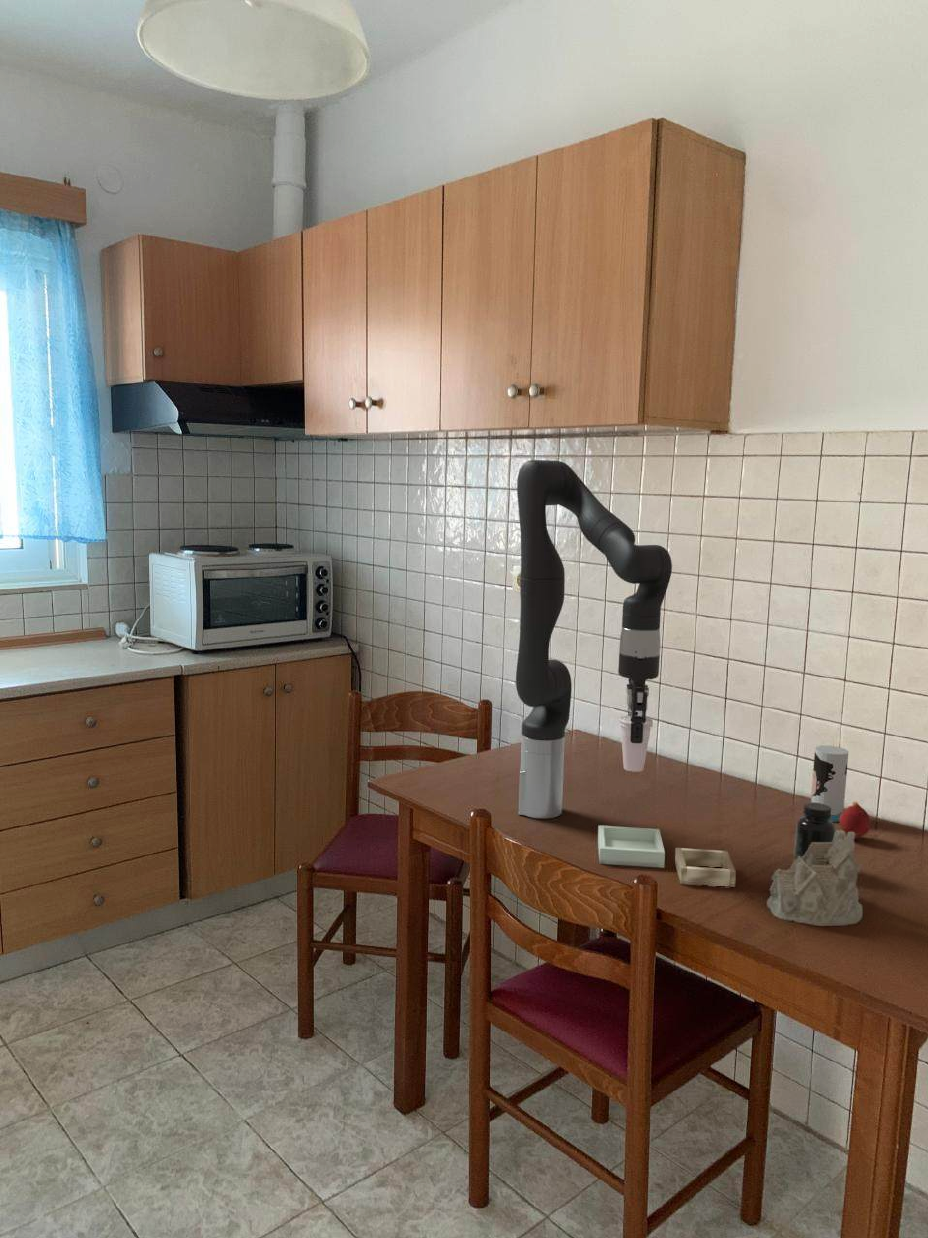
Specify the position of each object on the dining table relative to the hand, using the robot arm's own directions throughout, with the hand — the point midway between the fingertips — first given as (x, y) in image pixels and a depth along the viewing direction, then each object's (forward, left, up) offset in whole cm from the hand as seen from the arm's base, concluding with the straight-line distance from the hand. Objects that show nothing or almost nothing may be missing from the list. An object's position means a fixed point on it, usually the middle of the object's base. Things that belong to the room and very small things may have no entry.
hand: (635, 737), depth 176 cm
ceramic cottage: (+30, -17, -24) cm, 42 cm away
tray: (0, 0, -23) cm, 23 cm away
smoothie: (0, 0, -6) cm, 6 cm away
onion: (+46, +15, -23) cm, 54 cm away
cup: (+44, +28, -23) cm, 57 cm away
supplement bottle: (+34, -1, -23) cm, 41 cm away
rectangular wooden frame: (+13, -8, -23) cm, 28 cm away
